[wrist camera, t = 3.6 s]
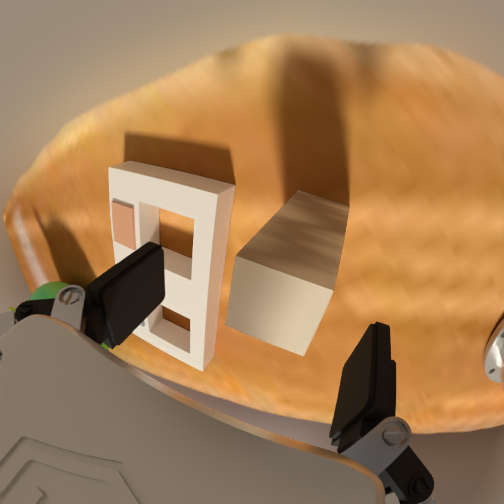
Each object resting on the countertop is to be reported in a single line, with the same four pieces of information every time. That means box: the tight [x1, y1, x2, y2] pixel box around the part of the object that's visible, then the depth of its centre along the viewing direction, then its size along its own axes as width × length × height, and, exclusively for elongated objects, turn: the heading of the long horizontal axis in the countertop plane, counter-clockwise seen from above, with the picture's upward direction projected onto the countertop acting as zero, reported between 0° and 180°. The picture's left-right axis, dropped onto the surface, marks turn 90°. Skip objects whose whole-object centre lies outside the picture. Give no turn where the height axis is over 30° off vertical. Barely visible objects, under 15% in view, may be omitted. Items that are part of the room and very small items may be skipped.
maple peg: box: [225, 190, 349, 356], centre depth 16 cm, size 4×4×11 cm
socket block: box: [109, 161, 236, 372], centre depth 27 cm, size 12×22×3 cm, turn 170°
